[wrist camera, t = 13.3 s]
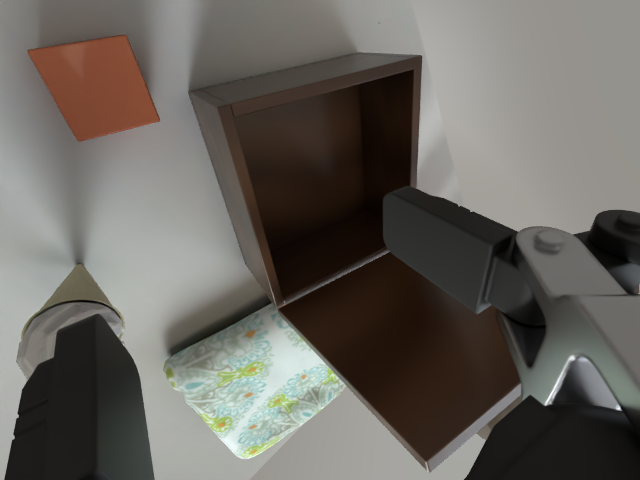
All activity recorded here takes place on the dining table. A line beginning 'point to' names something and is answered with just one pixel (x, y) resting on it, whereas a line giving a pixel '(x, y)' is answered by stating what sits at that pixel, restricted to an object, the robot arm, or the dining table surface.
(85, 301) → the ice cream cone
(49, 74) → the block
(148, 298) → the dining table surface
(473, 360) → the lid
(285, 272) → the chest
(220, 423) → the towel
